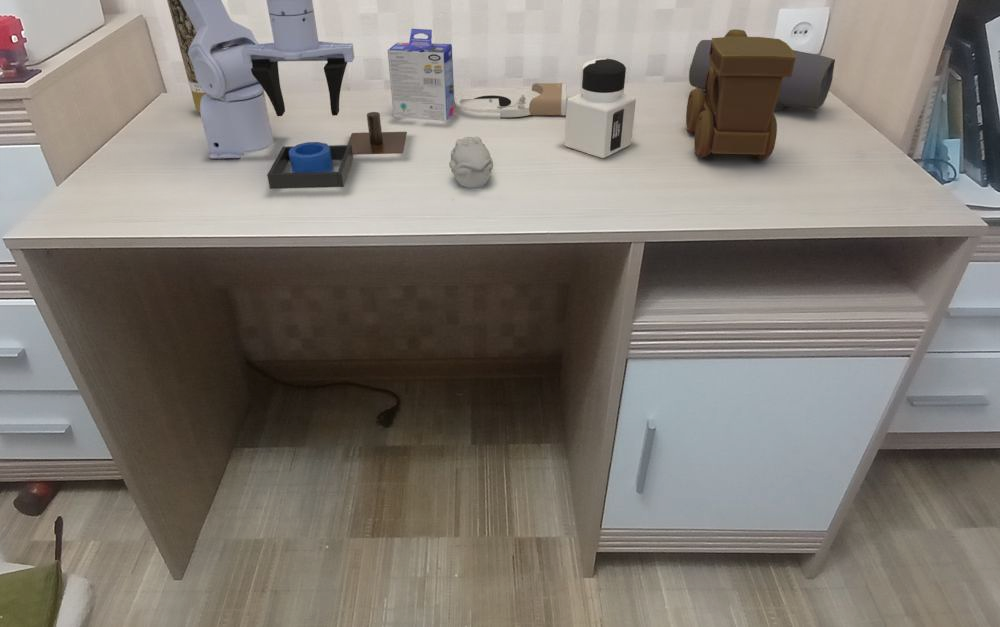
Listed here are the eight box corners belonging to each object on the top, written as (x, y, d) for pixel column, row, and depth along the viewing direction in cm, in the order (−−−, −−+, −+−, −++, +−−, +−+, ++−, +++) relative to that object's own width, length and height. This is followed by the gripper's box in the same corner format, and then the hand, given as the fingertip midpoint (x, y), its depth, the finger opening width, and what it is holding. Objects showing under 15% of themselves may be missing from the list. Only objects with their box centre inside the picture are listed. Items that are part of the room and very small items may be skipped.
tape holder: (344, 160, 108) (339, 125, 104) (352, 138, 115) (347, 104, 112) (403, 159, 108) (400, 123, 105) (407, 137, 115) (404, 103, 112)
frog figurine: (484, 174, 103) (483, 128, 99) (501, 193, 98) (500, 145, 94) (444, 180, 101) (441, 134, 97) (459, 200, 96) (457, 152, 92)
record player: (566, 101, 119) (449, 100, 121) (565, 119, 121) (450, 118, 123) (566, 80, 129) (458, 79, 130) (565, 97, 131) (459, 96, 132)
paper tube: (244, 107, 128) (210, -46, 113) (213, 118, 123) (174, -39, 109) (219, 101, 131) (183, -49, 116) (188, 111, 126) (146, -43, 112)
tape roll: (290, 184, 100) (285, 157, 97) (298, 168, 104) (293, 142, 102) (330, 183, 100) (326, 156, 98) (336, 167, 104) (332, 141, 102)
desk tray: (271, 194, 98) (266, 174, 96) (286, 165, 106) (282, 146, 105) (344, 193, 98) (341, 173, 97) (354, 163, 107) (351, 144, 105)
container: (632, 145, 112) (640, 61, 104) (603, 159, 107) (610, 73, 100) (592, 133, 116) (598, 51, 108) (563, 146, 111) (567, 62, 104)
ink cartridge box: (456, 115, 124) (452, 28, 115) (448, 126, 119) (444, 37, 111) (403, 111, 125) (395, 26, 117) (393, 122, 121) (384, 34, 112)
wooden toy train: (776, 172, 103) (803, 55, 93) (696, 170, 104) (716, 54, 94) (749, 123, 119) (770, 19, 109) (680, 121, 120) (695, 18, 110)
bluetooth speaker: (683, 99, 129) (691, 42, 123) (702, 85, 135) (711, 31, 130) (810, 123, 119) (826, 63, 113) (825, 108, 125) (840, 49, 119)
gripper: (226, 19, 88) (249, 124, 96) (342, 17, 88) (356, 122, 96) (241, 6, 94) (262, 106, 101) (350, 5, 94) (362, 105, 102)
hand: (308, 113), depth 99 cm, fingers open, 7 cm apart
